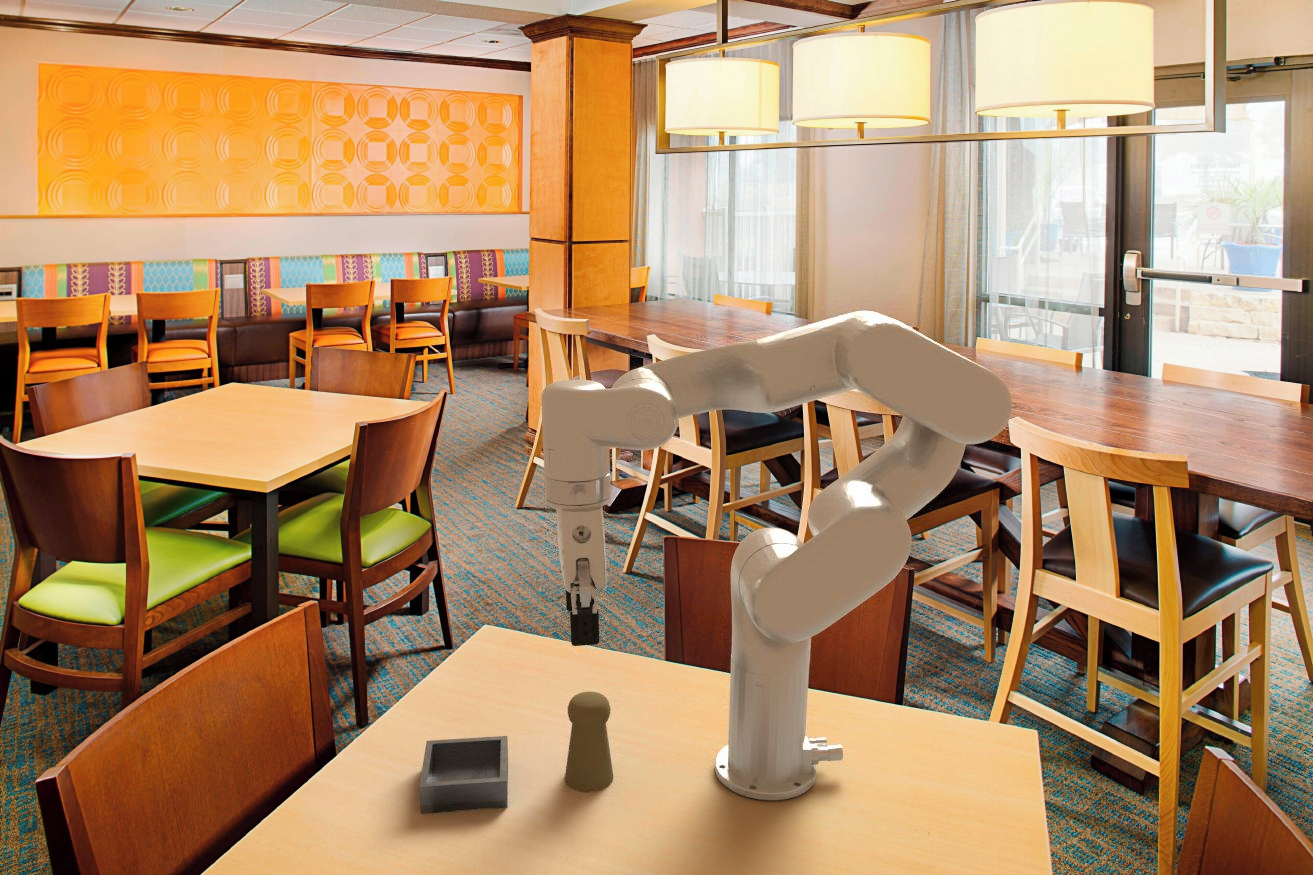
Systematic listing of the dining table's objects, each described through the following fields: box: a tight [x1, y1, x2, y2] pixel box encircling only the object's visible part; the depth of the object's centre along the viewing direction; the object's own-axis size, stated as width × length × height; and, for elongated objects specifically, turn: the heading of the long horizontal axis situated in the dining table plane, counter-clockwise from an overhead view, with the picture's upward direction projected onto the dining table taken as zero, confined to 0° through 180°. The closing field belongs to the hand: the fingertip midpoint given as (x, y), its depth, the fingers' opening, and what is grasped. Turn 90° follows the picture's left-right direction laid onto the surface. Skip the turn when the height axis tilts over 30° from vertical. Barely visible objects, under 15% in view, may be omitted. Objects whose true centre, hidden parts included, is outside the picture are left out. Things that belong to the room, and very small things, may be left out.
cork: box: [564, 691, 615, 793], centre depth 121 cm, size 6×6×11 cm
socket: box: [418, 735, 509, 814], centre depth 120 cm, size 10×10×4 cm
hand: (582, 626), depth 117 cm, fingers open, 9 cm apart
